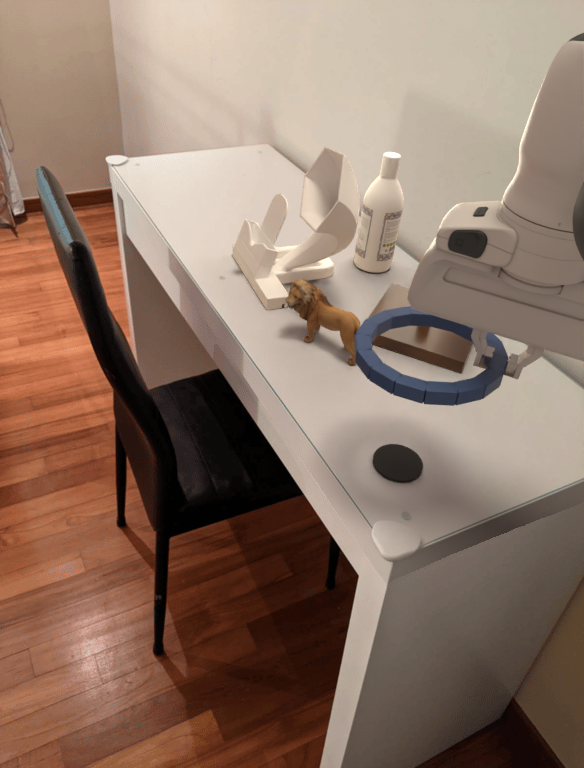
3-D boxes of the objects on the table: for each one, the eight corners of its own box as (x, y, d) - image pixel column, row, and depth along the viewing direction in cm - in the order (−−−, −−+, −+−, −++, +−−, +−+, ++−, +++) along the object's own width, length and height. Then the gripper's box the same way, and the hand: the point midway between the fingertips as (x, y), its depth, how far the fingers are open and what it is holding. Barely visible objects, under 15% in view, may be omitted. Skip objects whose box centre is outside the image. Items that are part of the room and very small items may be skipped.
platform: (482, 321, 100) (493, 289, 96) (461, 373, 88) (472, 339, 85) (389, 293, 104) (396, 261, 101) (358, 339, 93) (364, 306, 89)
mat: (427, 456, 75) (428, 454, 74) (414, 490, 70) (415, 487, 70) (381, 439, 76) (382, 437, 76) (365, 471, 72) (366, 468, 72)
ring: (513, 340, 66) (517, 328, 65) (488, 424, 55) (492, 410, 54) (380, 306, 71) (382, 294, 70) (332, 377, 60) (333, 364, 59)
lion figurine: (276, 336, 92) (281, 284, 86) (294, 320, 95) (299, 269, 90) (365, 372, 87) (375, 319, 81) (380, 353, 90) (391, 302, 85)
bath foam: (394, 260, 114) (417, 152, 101) (386, 277, 108) (409, 165, 96) (358, 252, 115) (376, 144, 102) (348, 268, 110) (366, 156, 97)
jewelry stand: (232, 255, 110) (235, 109, 94) (311, 246, 115) (327, 107, 99) (280, 332, 93) (294, 169, 77) (371, 318, 98) (402, 163, 82)
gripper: (674, 260, 51) (606, 385, 60) (438, 200, 57) (407, 323, 66) (678, 293, 47) (603, 424, 55) (420, 224, 52) (390, 353, 61)
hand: (495, 369), depth 61 cm, fingers closed on ring, 2 cm apart
